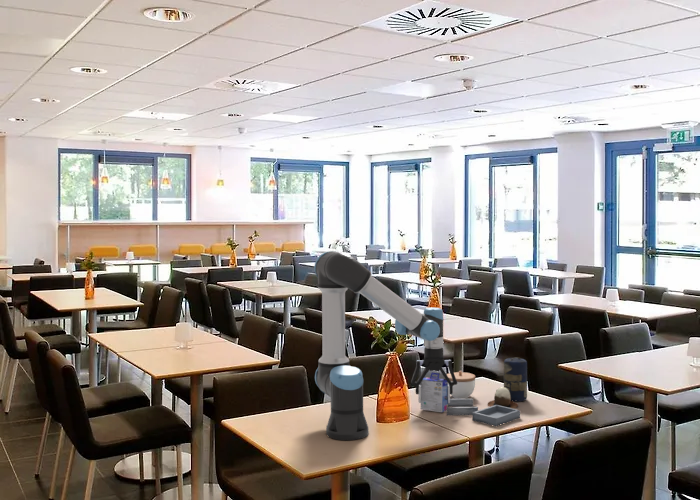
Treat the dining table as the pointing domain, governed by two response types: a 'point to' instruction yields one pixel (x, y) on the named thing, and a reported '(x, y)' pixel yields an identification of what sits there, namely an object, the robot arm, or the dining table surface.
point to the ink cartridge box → (434, 394)
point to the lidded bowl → (462, 384)
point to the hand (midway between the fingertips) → (434, 402)
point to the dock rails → (461, 407)
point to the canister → (516, 378)
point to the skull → (502, 399)
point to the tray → (495, 415)
